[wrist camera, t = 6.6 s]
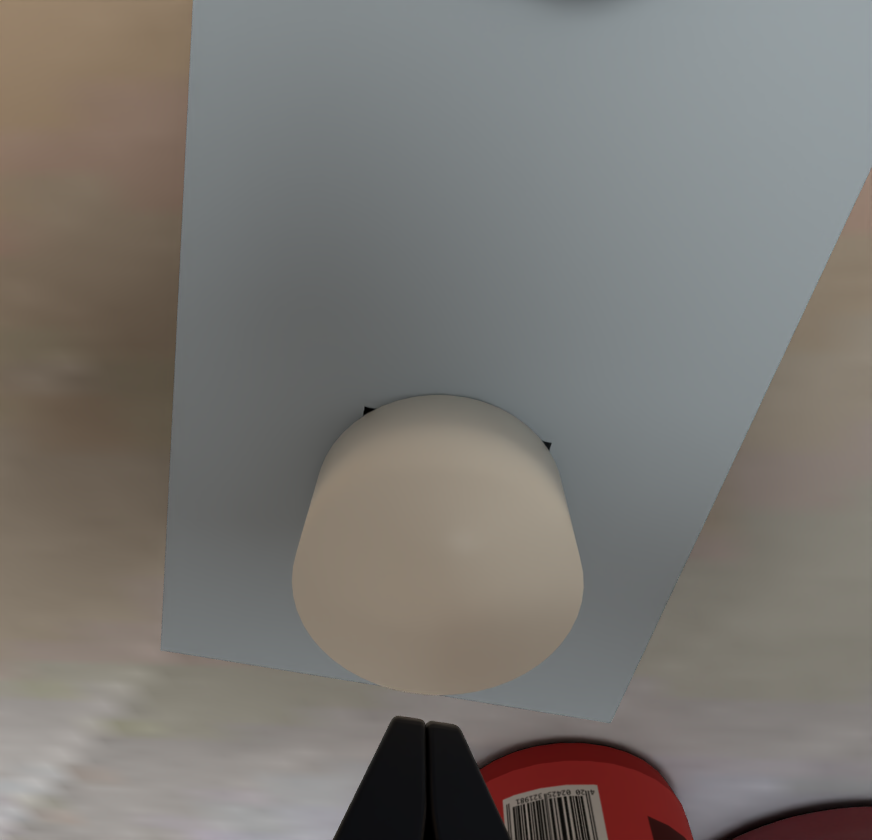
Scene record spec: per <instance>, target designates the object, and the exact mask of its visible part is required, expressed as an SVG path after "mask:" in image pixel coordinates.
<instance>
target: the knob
mask: <svg viewBox="0 0 872 840" xmlns="http://www.w3.org/2000/svg"><path fill="white" fill-rule="evenodd" d="M583 589H584V582H583V569H582V565H581V560H580V555H579V551H578V547H577V543H576V539H575V535H574V531H573V527H572V523H571V519H570V514H569V510H568V506H567V502H566V498H565V494H564V490H563V486H562V482H561V478H560V474H559V471H558V468H557V466H556V463H555V461H554V459H553V457H552V455H551V454H550V452H549V450H548V448H547V447H546V446H545V444H544V443H543V442H542V441H541V439H540V438H539V437H538V436H537V435H536V434H535V433H534V432H533V431H532V430H531V429H530V428H529V427H528V426H527V425H526V424H524V423H523V422H521V421H520V420H519V419H517V418H516V417H515V416H513V415H511V414H509V413H508V412H506V411H504V410H502V409H500V408H498V407H495V406H493V405H490V404H488V403H485V402H482V401H478V400H475V399H471V398H467V397H459V396H452V395H426V396H416V397H411V398H407V399H402V400H398V401H395V402H392V403H389V404H386V405H384V406H381V407H379V408H377V409H375V410H373V411H371V412H369V413H367V414H366V415H364V416H363V417H361V418H360V419H359V420H357V421H356V422H354V423H353V424H352V425H351V426H350V427H349V428H347V429H346V430H345V431H344V432H343V433H342V434H341V435H340V437H339V438H338V439H337V440H336V441H335V443H334V444H333V445H332V447H331V449H330V450H329V452H328V453H327V455H326V457H325V459H324V462H323V464H322V466H321V469H320V472H319V475H318V479H317V482H316V486H315V489H314V493H313V496H312V500H311V503H310V507H309V510H308V513H307V517H306V520H305V524H304V527H303V531H302V534H301V538H300V541H299V545H298V548H297V552H296V556H295V560H294V564H293V571H292V590H293V598H294V602H295V605H296V609H297V612H298V614H299V616H300V619H301V621H302V623H303V625H304V627H305V628H306V630H307V631H308V633H309V635H310V636H311V638H312V639H313V640H314V641H315V642H316V644H317V645H318V646H319V647H320V648H321V649H322V650H323V651H324V652H325V653H326V654H327V655H328V656H329V657H330V658H331V659H333V660H334V661H335V662H337V663H338V664H339V665H341V666H342V667H344V668H345V669H346V670H348V671H350V672H352V673H354V674H355V675H357V676H359V677H361V678H363V679H365V680H368V681H370V682H372V683H375V684H377V685H380V686H384V687H387V688H390V689H393V690H398V691H403V692H408V693H415V694H423V695H455V694H465V693H471V692H477V691H481V690H485V689H489V688H492V687H496V686H498V685H501V684H504V683H506V682H509V681H511V680H513V679H515V678H517V677H519V676H521V675H523V674H525V673H527V672H528V671H530V670H532V669H533V668H535V667H536V666H538V665H539V664H540V663H542V662H543V661H544V660H545V659H546V658H548V657H549V656H550V655H551V654H552V653H553V652H554V651H555V650H556V649H557V648H558V647H559V645H560V644H561V643H562V642H563V641H564V639H565V638H566V636H567V635H568V633H569V632H570V630H571V629H572V627H573V625H574V622H575V620H576V618H577V616H578V613H579V610H580V606H581V603H582V597H583Z"/></svg>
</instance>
